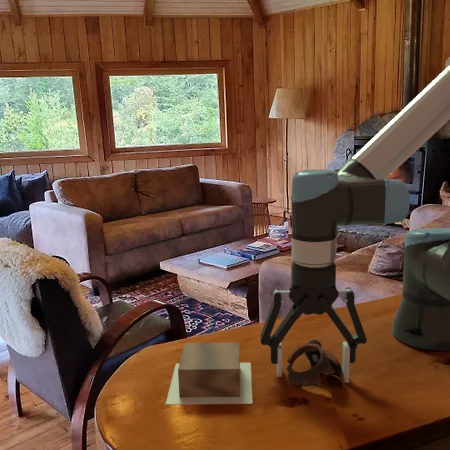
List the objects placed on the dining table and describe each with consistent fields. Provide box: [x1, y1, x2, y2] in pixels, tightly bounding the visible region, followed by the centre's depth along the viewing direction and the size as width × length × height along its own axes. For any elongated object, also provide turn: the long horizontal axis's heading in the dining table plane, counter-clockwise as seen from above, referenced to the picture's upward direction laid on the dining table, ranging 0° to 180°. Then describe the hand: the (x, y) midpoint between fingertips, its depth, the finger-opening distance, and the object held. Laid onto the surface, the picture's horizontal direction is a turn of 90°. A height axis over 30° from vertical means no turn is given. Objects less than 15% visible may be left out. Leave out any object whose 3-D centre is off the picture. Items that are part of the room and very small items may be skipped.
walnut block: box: [178, 342, 241, 397], centre depth 91 cm, size 10×10×5 cm
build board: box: [165, 362, 253, 405], centre depth 91 cm, size 14×14×2 cm
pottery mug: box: [286, 338, 346, 389], centre depth 93 cm, size 12×10×8 cm
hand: (312, 379), depth 94 cm, fingers open, 11 cm apart
